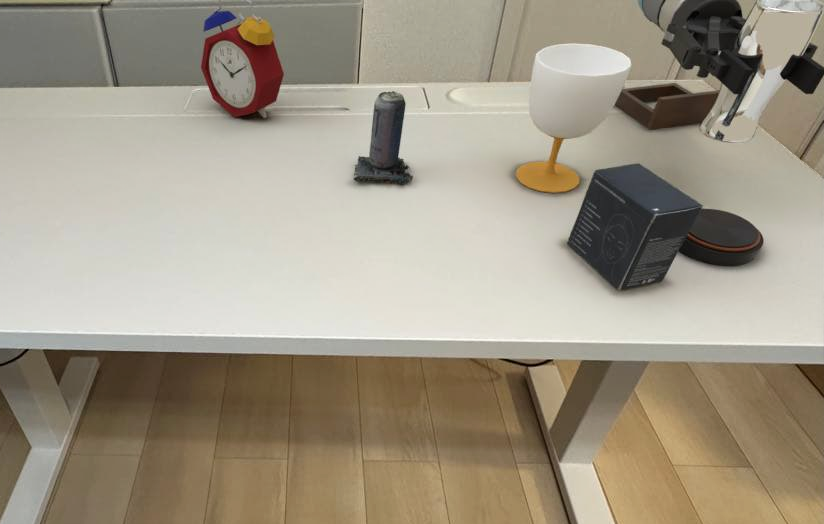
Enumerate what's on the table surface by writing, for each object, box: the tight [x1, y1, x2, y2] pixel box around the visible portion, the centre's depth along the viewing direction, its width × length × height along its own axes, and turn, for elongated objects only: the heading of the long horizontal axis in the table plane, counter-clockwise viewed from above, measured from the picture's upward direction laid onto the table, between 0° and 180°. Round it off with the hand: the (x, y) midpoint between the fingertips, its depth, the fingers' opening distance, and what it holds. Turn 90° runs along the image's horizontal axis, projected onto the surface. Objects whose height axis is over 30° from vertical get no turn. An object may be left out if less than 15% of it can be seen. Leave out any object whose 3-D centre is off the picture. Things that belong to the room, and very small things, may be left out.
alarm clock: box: [200, 0, 285, 119], centre depth 103 cm, size 15×9×20 cm, turn 50°
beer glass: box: [698, 0, 824, 144], centre depth 70 cm, size 7×7×15 cm
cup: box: [515, 42, 633, 194], centre depth 82 cm, size 12×12×17 cm
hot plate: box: [678, 208, 765, 267], centre depth 74 cm, size 10×10×2 cm
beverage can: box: [352, 90, 414, 185], centre depth 87 cm, size 9×8×12 cm
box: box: [566, 162, 704, 291], centre depth 70 cm, size 11×7×10 cm, turn 15°
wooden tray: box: [614, 82, 720, 130], centre depth 100 cm, size 11×11×5 cm
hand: (779, 82), depth 66 cm, fingers closed on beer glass, 7 cm apart
